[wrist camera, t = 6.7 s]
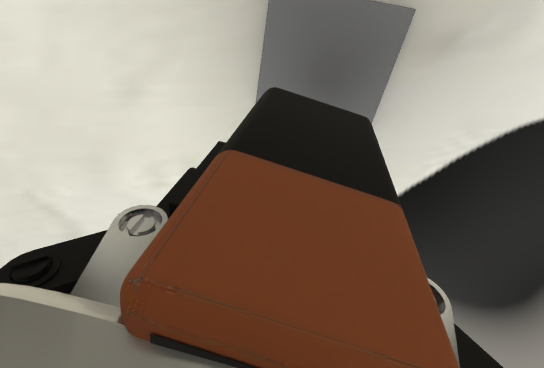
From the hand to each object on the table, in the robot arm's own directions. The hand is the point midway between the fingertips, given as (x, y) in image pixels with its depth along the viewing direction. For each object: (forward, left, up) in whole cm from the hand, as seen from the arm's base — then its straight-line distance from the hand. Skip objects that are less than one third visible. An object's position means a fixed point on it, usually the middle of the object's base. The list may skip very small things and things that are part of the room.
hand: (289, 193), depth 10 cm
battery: (0, 0, -2) cm, 2 cm away
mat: (-1, 0, -17) cm, 17 cm away
